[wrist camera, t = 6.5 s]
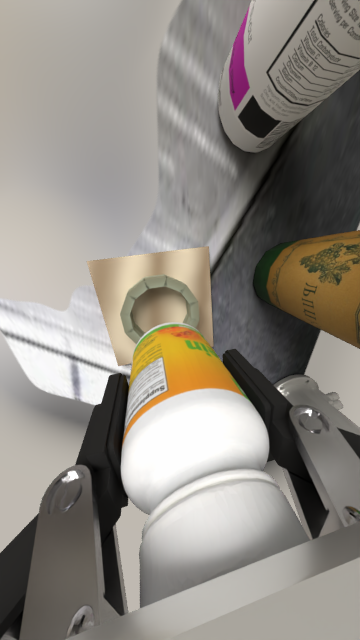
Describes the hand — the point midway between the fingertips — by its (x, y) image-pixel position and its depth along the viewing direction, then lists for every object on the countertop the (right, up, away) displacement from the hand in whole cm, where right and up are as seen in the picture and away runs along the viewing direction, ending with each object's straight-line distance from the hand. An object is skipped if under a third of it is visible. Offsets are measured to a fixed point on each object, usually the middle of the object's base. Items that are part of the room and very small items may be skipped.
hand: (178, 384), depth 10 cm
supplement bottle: (-1, +1, +3) cm, 3 cm away
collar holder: (-3, +5, +14) cm, 15 cm away
